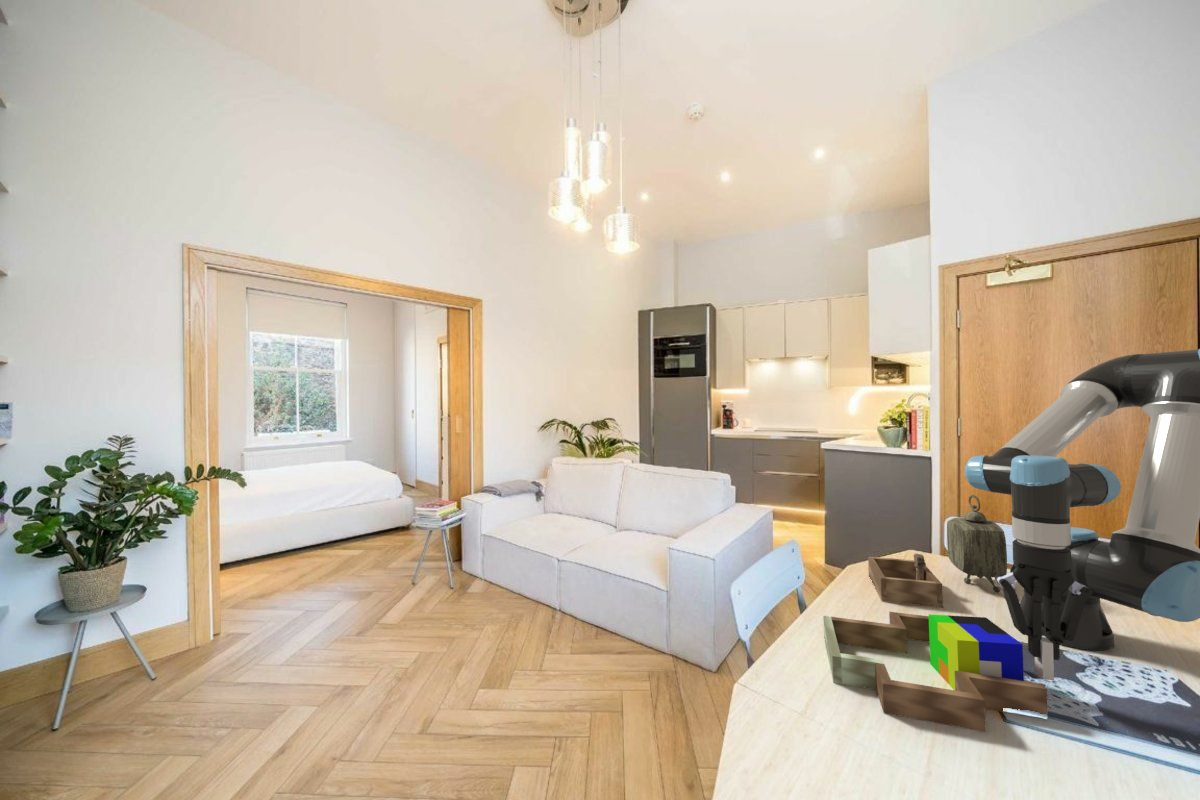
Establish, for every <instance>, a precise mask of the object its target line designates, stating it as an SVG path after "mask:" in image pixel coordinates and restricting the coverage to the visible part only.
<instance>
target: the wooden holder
mask: <svg viewBox="0 0 1200 800" xmlns="http://www.w3.org/2000/svg"><path fill="white" fill-rule="evenodd" d="M867 559H868V560H867V562H868V563H867V566H868V578H869V577H870V578H869V579H871V580H872V582H871V584H872V583H873V584H874V586H875V588H874V589H875V591H876V593H877V595H878V597H879V599H880V601H881V602H886V603H887V602H888V603H897V604H904V605H914V606H921V607H922V606H923V607H933V608H939V609H940V608H941V609H942V608H943V609H944V596H943V595H944V594H943V591H944V590H943V583H942V582H941V581H940V580H939V579H938V578H937V576H936V575H935V574H934V573H933V572H932V571H931V570H930V569H929V568H928V567H927V566H926V567H924V572H925V581H922V580H916V567H915V566H914V559H902V558H892V557H881V556H880V557H879V556H878V557H877V556H876V557H875V556H868V557H867ZM871 580H870V581H871ZM873 584H872V585H873ZM874 586H873V587H874Z"/></svg>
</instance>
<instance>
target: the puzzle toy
mask: <svg viewBox="0 0 1200 800" xmlns="http://www.w3.org/2000/svg"><path fill="white" fill-rule="evenodd" d="M928 616H929V639H930V642H929V659H930V660H929V662H930V665H931V667H932V668H933V669H934V670H935V671H936V672H937V673H938V674H939V676H941V678H942V679H943V680H944V681H945V682H946V684H948V686H950V687H951V688H952V690H955V671H961V672H968V673H974V674H981V675H987V676H994V677H1000V678H1007V679H1014V680H1020V681H1025V678H1024V677H1025V675H1024V670H1025V669H1024V652H1023V651H1024V649H1023V644H1022V643H1021V642H1020V641H1019V640H1017V639H1016V638H1015V637H1014V636H1012V635H1011V634H1009V633H1008V632H1006V631H1005V630H1004V629H1002V628H1001V627H1000V626H998V625H997V624H996V623H994V622H993V621H992V620H990V619H989V618H987V617H984V616H983V617H982V616H966V615H965V616H963V615H950V614H949V615H947V614H946V615H945V614H929V613H928Z"/></svg>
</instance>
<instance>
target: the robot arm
mask: <svg viewBox="0 0 1200 800" xmlns="http://www.w3.org/2000/svg"><path fill="white" fill-rule="evenodd" d="M1134 407H1135V408H1136V407H1137V408H1141V410H1142V412H1143V413H1144V414H1146V415H1147V416H1148V417H1149V418H1150V421H1149V425H1148V429H1147V434H1146V438H1145V444H1144V447H1143V450H1142V451H1143V452H1142V456H1141V460H1140V464H1139V467H1138V468H1139V469H1138V472H1137V476H1136V481H1135V485H1134V489H1133V493H1132V498H1131V503H1130V505H1129V506H1130V507H1129V510H1128V516H1127V519H1126V522H1125V523H1126V524H1125V527H1123V528H1121V529H1118V530H1115V531H1113V532H1112V533H1111V536H1110V541H1109V542H1108V541H1103V540H1099V538H1100V536H1099V535H1098V533H1097V531H1095V530H1093V529H1089V528H1083V527H1082V528H1081V527H1073V526H1071V516H1070V515H1071V513H1070V512H1071V508H1078V507H1081V508H1082V507H1095V506H1101V505H1103V504H1108V503H1110V502H1112V501H1114V500H1116V499H1117V498H1118V496H1119V495H1120V493H1121V489H1122V485H1121V481H1120V479H1119V477H1118V476H1117V475H1116V474H1115V472H1113V471H1112V470H1111V469H1109V468H1107V467H1105V466H1103V465H1099V464H1094V463H1085V462H1084V463H1083V462H1082V463H1081V462H1080V463H1077V464H1072V463H1070V464H1069V462H1068V461H1067V460H1066V459H1065V458H1063V457H1059V456H1057V455H1059V454H1060V453H1061V452H1062V451H1063V450H1064V449H1065V448H1066V447H1067V446H1069V445H1070V444H1071V443H1072V442H1073V441H1074V440H1076V439H1077V438H1078V437H1079V436H1080V435H1081V434H1082V433H1084V431H1086V430H1087V429H1088V428H1089V427H1090V426H1092V424H1094V423H1095V422H1096V420H1098V419H1099V418H1102V417H1103V418H1104V417H1106V416H1110V415H1112V413H1114V412H1115V411H1116V410H1119V409H1123V408H1134ZM964 475H965V478H966V481H967V482H968V484H969V485H970V486H971V487H973V488H975V489H978V490H982V491H986V492H990V493H996V494H1002V495H1010V496H1011V507H1012V508H1011V510H1012V511H1011V524H1012V525H1011V526H1012V527H1011V529H1012V537H1013V538H1014V540H1013V541H1012V562H1013V564H1012V566H1011V568H1010V572H1009V573H1007V574H1006V575H1005V576H999V575H998V576H996V577H994V581H996V583H997V584H998V585H999V587H1001V588H1000V589H1001V590H1002V592H1003V596H1004V598H1005V599H1004V600H1005V601H1006V604H1007V605H1006V606H1007V608H1008V611H1009V615H1010V617H1011V621H1012V623H1013V627H1014V628H1015V629H1016V630H1017V631H1019V633H1020V634H1021V635H1024V636H1026V637H1027V650H1028V653H1030V654H1031V656H1032V657H1034V672H1036V673H1037V674H1038V676H1039V677H1041V679H1043V680H1047V681H1055V673H1054V672H1055V669H1054V668H1055V666H1054V662H1055V661H1059V660H1060V658H1061V655H1060V650H1061V649H1060V646H1065V647H1071V648H1076V649H1081V650H1091V651H1092V650H1093V651H1104V650H1111V649H1113V647H1115V635H1114V631H1113V629H1112V627H1111V625H1110V622H1109V621H1108V619H1107V617H1106V615H1105V613H1104V610H1103V607H1102V606H1101V600H1105V601H1106V602H1107V601H1108V602H1111V603H1114V604H1118V605H1120V606H1124V607H1128V608H1129V609H1134V610H1136V611H1137V610H1138V611H1140V612H1143V613H1146V614H1148V615H1150V616H1153V617H1161V618H1163V619H1168V620H1172V621H1175V622H1182V623H1188V622H1189V623H1190V622H1194V621H1196V620H1199V619H1200V547H1198V546H1197V545H1196V543H1195V542H1196V537H1197V533H1198V528H1199V523H1200V348H1198V349H1189V350H1188V349H1187V350H1176V351H1166V352H1165V351H1163V352H1154V353H1152V352H1151V353H1142V354H1141V353H1135V354H1128V355H1123V356H1118V357H1115V358H1112V359H1110V360H1106V361H1105V362H1102V363H1099V364H1098V365H1095V366H1093V367H1091V368H1089V369H1088V370H1086V371H1084V372H1081V373H1080V374H1078V375H1077V376H1076V377H1074V378H1073V379H1072V380H1071V381H1069V382H1068V383H1067V384H1065V385H1064V386H1063V387H1062V389H1061V391H1060V396H1059V397H1058V398H1057V399H1056V400H1055V401H1054V402H1053V403H1051V404H1050V405H1049V406H1048V407H1047V408H1046V409H1044V411H1042V412H1041V413H1040V414H1039V415H1038V416H1037V417H1035V418H1034V419H1033V420H1032V421H1031V422H1030V423H1028V424H1027V425H1026V426H1025V427H1023V429H1021V430H1020V431H1019V432H1018V433H1017V434H1016V435H1015V436H1013V437H1012V438H1011V439H1010V440H1009V441H1007V442H1006V443H1005V444H1004V445H1003V446H1002V447H1001V448H1000V449H998V450H997V451H996V452H995V453H994V454H993V455H986V454H983V455H974V456H971V458H969V459H968V461H967V463H966V465H965V467H964ZM1016 583H1018V584H1019V585H1020V586H1021V587H1022V589H1023V596H1022V599H1021V601H1020V599H1019V597H1018V594H1017V591H1016V590H1015V589H1016V587H1017V585H1016Z"/></svg>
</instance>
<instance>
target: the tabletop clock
mask: <svg viewBox="0 0 1200 800" xmlns="http://www.w3.org/2000/svg"><path fill="white" fill-rule="evenodd" d="M972 498H974V499H975V501H976V502H977V505H975V504H974V505H973V504H972V502H971V501H972ZM968 505H969V507H970V508H971V510H970V511H967V512H966V513H964V515H963V517H954V518H952V519H950V520H947V522H946V523H947V524H946V537H947V538H946V539H947V541H946V542H947V553H948V554H947V556H948V559H949V562H951V563H952V565H953V566H954V567H955V568H957V569H958V570H959V571H960V572H962V573H964V574H967V576H966V577H964V578H963V581H964V583H965V584H971V583H972V580H971V576H972V577H973V576H974V577H977V578H979V579H982V578H983V577H984V578H985V579H987V580H988V582H989V583H990V584H991V585H992V591H993V592H994V593H996V594H997V593H1001V590H1002V589H1001V588H1000V586H997V585H996V584H995V582H994V580H993V578H995V577H996V576H998V575H999V576H1005V575H1007V574H1008V573H1007V572H1008V553H1007V552H1008V550H1007V541H1006V540H1007V539H1006V535H1005V531H1004V529H1003V528H1002V527H1001V526H1000V525H999V524H997V523H996V522H994V521H992V520H990V519H988V518H986V516H985V514H983V513H982V512H980V509H981V502H980V499H979V497H977V495H975V494H970V495H969V497H968Z"/></svg>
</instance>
